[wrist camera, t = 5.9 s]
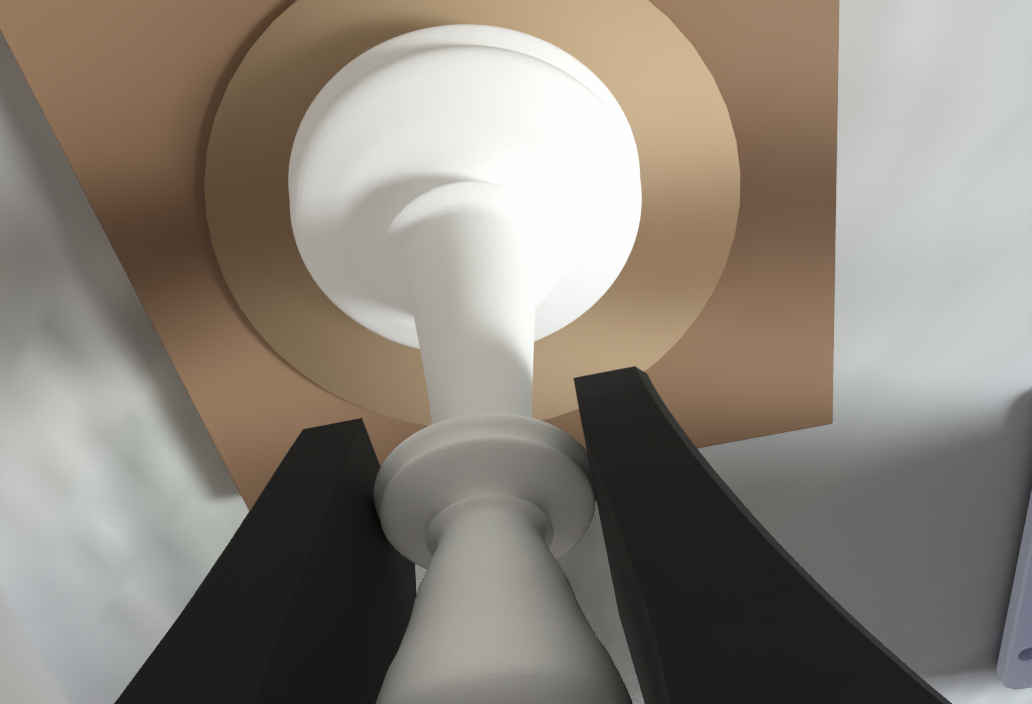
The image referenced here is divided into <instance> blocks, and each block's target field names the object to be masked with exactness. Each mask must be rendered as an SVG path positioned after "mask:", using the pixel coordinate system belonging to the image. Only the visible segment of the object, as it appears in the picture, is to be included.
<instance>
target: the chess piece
mask: <svg viewBox="0 0 1032 704" xmlns="http://www.w3.org/2000/svg"><path fill="white" fill-rule="evenodd" d="M288 188H289V199H290V217H291V224H292V229H293V234H294V237H295V241H296V244H297V247H298V250H299V252H300V255H301V257H302V259H303V261H304V264H305V266H306V267H307V269H308V271H309V273H310V274H311V276H312V277H313V279H314V281H315V282H316V283H317V285H318V286H319V287H320V289H321V290H322V291H323V292H324V293H325V295H326V296H327V297H328V298H329V299H330V300H331V301H332V302H333V303H334V304H335V305H336V306H337V307H338V308H339V309H340V310H342V311H343V312H344V313H345V314H346V315H348V316H349V317H350V318H352V319H353V320H354V321H356V322H357V323H359V324H360V325H362V326H364V327H365V328H367V329H369V330H370V331H372V332H374V333H376V334H378V335H380V336H382V337H384V338H387V339H389V340H391V341H394V342H397V343H400V344H403V345H406V346H409V347H413V348H417V349H420V352H421V357H422V362H423V368H424V374H425V380H426V386H427V391H428V397H429V405H430V414H431V423H432V425H430V426H428V427H426V428H424V429H422V430H420V431H418V432H416V433H414V434H413V435H411V436H410V437H408V438H407V439H405V440H404V441H403V442H402V443H400V444H399V445H398V446H397V447H396V448H395V449H394V450H393V451H392V452H391V453H390V454H389V456H388V457H387V458H386V459H385V461H384V462H383V464H382V466H381V468H380V470H379V472H378V474H377V477H376V481H375V485H374V504H375V508H376V511H377V513H378V516H379V518H380V522H381V526H382V529H383V531H384V533H385V535H386V537H387V539H388V540H389V542H390V543H391V544H392V545H393V547H394V548H395V549H396V550H397V551H398V552H399V553H400V554H401V555H403V556H404V557H406V558H407V559H409V560H410V561H411V562H413V563H415V564H417V565H419V566H421V567H423V568H425V569H427V571H426V574H425V576H424V578H423V580H422V582H421V584H420V587H419V589H418V592H417V595H416V598H415V602H414V606H413V611H412V615H411V618H410V621H409V624H408V627H407V629H406V632H405V635H404V637H403V640H402V642H401V645H400V647H399V650H398V652H397V654H396V656H395V658H394V659H393V661H392V663H391V665H390V667H389V669H388V671H387V673H386V676H385V679H384V682H383V684H382V687H381V690H380V693H379V695H378V698H377V701H376V704H632V700H631V698H630V695H629V693H628V690H627V688H626V686H625V684H624V682H623V680H622V678H621V676H620V674H619V672H618V670H617V668H616V666H615V665H614V663H613V661H612V659H611V657H610V655H609V653H608V652H607V650H606V649H605V647H604V646H603V645H602V643H601V642H600V641H599V639H598V638H597V637H596V635H595V634H594V632H593V630H592V628H591V627H590V625H589V623H588V621H587V619H586V618H585V616H584V614H583V612H582V610H581V608H580V606H579V604H578V602H577V600H576V597H575V595H574V592H573V589H572V587H571V584H570V582H569V580H568V579H567V577H566V575H565V573H564V572H563V570H562V569H561V567H560V566H559V564H558V562H557V561H556V559H557V558H558V557H560V556H561V555H563V554H564V553H566V552H567V551H568V550H569V549H571V548H572V547H573V546H574V545H575V544H576V543H577V542H578V541H579V540H580V539H581V537H582V536H583V535H584V533H585V532H586V530H587V529H588V527H589V525H590V522H591V520H592V517H593V514H594V509H595V501H596V494H595V489H594V484H593V479H592V474H591V469H590V464H589V459H588V454H587V451H586V450H585V448H584V447H583V446H582V445H581V444H580V443H579V442H578V441H577V440H576V439H574V438H573V437H572V436H571V435H569V434H568V433H566V432H565V431H563V430H562V429H560V428H558V427H556V426H553V425H551V424H549V423H547V422H544V421H541V420H538V419H535V418H532V382H533V354H534V341H536V340H539V339H541V338H544V337H546V336H548V335H550V334H552V333H554V332H556V331H558V330H560V329H561V328H563V327H565V326H566V325H568V324H570V323H571V322H573V321H574V320H575V319H577V318H578V317H580V316H581V315H582V314H583V313H585V312H586V311H587V310H588V309H589V308H591V307H592V306H593V305H594V304H595V303H596V302H597V301H598V300H599V299H600V298H601V297H602V296H603V295H604V294H605V292H606V291H607V290H608V289H609V288H610V286H611V285H612V284H613V282H614V281H615V280H616V278H617V277H618V275H619V274H620V272H621V270H622V269H623V267H624V265H625V263H626V261H627V259H628V257H629V255H630V253H631V250H632V248H633V245H634V242H635V239H636V236H637V232H638V228H639V223H640V217H641V205H642V191H641V181H640V165H639V157H638V152H637V147H636V143H635V140H634V136H633V133H632V130H631V128H630V125H629V123H628V121H627V118H626V116H625V114H624V112H623V111H622V109H621V107H620V105H619V104H618V102H617V101H616V99H615V98H614V96H613V95H612V94H611V92H610V91H609V90H608V88H607V87H606V86H605V85H604V84H603V82H602V81H601V80H600V79H599V78H598V77H597V76H596V75H595V74H594V73H593V72H592V71H591V70H589V69H588V68H587V67H586V66H585V65H584V64H582V63H581V62H580V61H578V60H577V59H576V58H574V57H573V56H571V55H570V54H568V53H567V52H565V51H563V50H562V49H560V48H558V47H556V46H554V45H553V44H551V43H548V42H546V41H544V40H542V39H539V38H537V37H534V36H531V35H529V34H525V33H522V32H519V31H515V30H511V29H507V28H502V27H496V26H488V25H476V24H455V25H443V26H436V27H430V28H424V29H420V30H416V31H412V32H409V33H406V34H403V35H400V36H397V37H394V38H392V39H389V40H387V41H385V42H383V43H381V44H379V45H376V46H375V47H373V48H371V49H369V50H368V51H366V52H364V53H363V54H361V55H360V56H358V57H357V58H355V59H354V60H352V61H351V62H350V63H348V64H347V65H346V66H345V67H343V68H342V69H341V70H340V71H339V72H338V73H337V74H336V75H335V76H334V77H333V78H332V79H331V80H330V81H329V82H328V83H327V84H326V85H325V86H324V87H323V88H322V90H321V91H320V92H319V94H318V95H317V96H316V98H315V99H314V101H313V102H312V103H311V105H310V107H309V108H308V110H307V112H306V114H305V116H304V117H303V119H302V122H301V124H300V126H299V128H298V131H297V134H296V137H295V140H294V143H293V147H292V152H291V156H290V163H289V174H288Z"/></svg>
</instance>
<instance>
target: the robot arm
mask: <svg viewBox="0 0 1032 704" xmlns="http://www.w3.org/2000/svg"><path fill="white" fill-rule="evenodd" d="M573 379H574V384H575V390H576V395H577V401H578V406H579V412H580V418H581V423H582V428H583V433H584V438H585V444H586V449H587V454H588V459H589V464H590V469H591V474H592V479H593V484H594V489H595V494H596V499H597V505H598V510H599V515H600V520H601V525H602V530H603V535H604V540H605V545H606V550H607V555H608V561H609V566H610V571H611V576H612V581H613V586H614V591H615V596H616V601H617V606H618V611H619V615H620V619H621V622H622V626H623V629H624V633H625V636H626V640H627V643H628V647H629V650H630V654H631V657H632V661H633V664H634V667H635V671H636V674H637V678H638V681H639V685H640V688H641V692H642V695H643V699H644V702H645V704H952V703H951V702H949V701H948V700H947V699H946V698H945V697H943V696H942V695H941V694H940V693H939V692H937V691H936V690H935V689H934V688H933V687H931V686H930V685H929V684H928V683H927V682H925V681H924V680H923V679H922V678H921V677H919V676H918V675H917V674H916V673H915V672H914V671H912V670H911V669H910V668H909V667H908V666H907V665H906V664H905V663H903V662H902V661H901V660H900V659H899V658H898V657H897V656H896V655H894V654H893V653H892V652H891V651H890V650H889V649H888V648H886V647H885V646H884V645H883V644H882V643H881V642H880V641H879V640H877V639H876V638H875V637H874V636H873V635H872V634H871V633H870V632H868V631H867V630H866V629H865V628H864V627H863V626H862V625H861V624H860V623H859V622H858V621H857V620H856V619H854V618H853V617H852V616H851V615H850V614H849V613H848V612H847V611H846V610H845V609H844V608H843V607H842V606H841V605H840V604H839V603H838V602H837V601H836V600H835V599H833V598H832V597H831V596H830V595H829V594H828V593H827V592H826V591H825V590H824V589H823V588H822V587H821V586H820V585H819V584H818V583H817V582H816V581H815V580H814V579H813V578H812V577H811V576H810V575H809V574H808V573H807V572H806V571H805V570H804V569H803V568H802V567H801V566H800V565H799V564H798V563H797V562H796V561H795V560H794V558H793V557H792V556H791V555H790V554H789V553H788V552H787V551H786V550H785V549H784V548H783V547H782V546H781V545H780V544H779V543H778V542H777V541H776V540H775V539H774V538H773V537H772V535H771V534H770V533H769V532H768V531H767V530H766V529H765V528H764V527H763V526H762V525H761V524H760V523H759V521H758V520H757V519H756V518H755V517H754V516H753V515H752V514H751V512H750V511H749V510H748V509H747V508H746V507H745V505H744V504H743V503H742V502H741V501H740V500H739V498H738V497H737V496H736V495H735V494H734V493H733V492H732V490H731V489H730V488H729V487H728V486H727V485H726V483H725V482H724V481H723V480H722V479H721V478H720V477H719V475H718V474H717V473H716V472H715V471H714V469H713V468H712V467H711V466H710V464H709V463H708V462H707V461H706V459H705V458H704V457H703V456H702V454H701V453H700V452H699V451H698V449H697V448H696V447H695V445H694V444H693V443H692V441H691V440H690V439H689V437H688V436H687V435H686V433H685V432H684V431H683V429H682V428H681V427H680V425H679V424H678V422H677V421H676V420H675V418H674V417H673V415H672V414H671V412H670V411H669V409H668V408H667V406H666V405H665V403H664V402H663V400H662V399H661V397H660V395H659V394H658V392H657V391H656V389H655V387H654V386H653V384H652V382H651V380H650V378H649V376H648V374H647V373H645V372H644V371H642V370H640V369H639V368H637V367H636V366H633V367H628V368H622V369H617V370H612V371H607V372H601V373H596V374H591V375H586V376H580V377H575V378H573ZM380 468H381V467H380V464H379V461H378V459H377V456H376V453H375V451H374V448H373V446H372V443H371V440H370V438H369V435H368V432H367V430H366V427H365V425H364V422H363V419H362V418H359V419H354V420H348V421H343V422H338V423H333V424H327V425H322V426H317V427H311V428H306V429H303V430H302V431H301V433H300V434H299V436H298V437H297V439H296V440H295V442H294V443H293V445H292V446H291V448H290V449H289V451H288V452H287V454H286V455H285V457H284V458H283V460H282V461H281V463H280V464H279V466H278V467H277V469H276V471H275V472H274V474H273V475H272V477H271V478H270V480H269V482H268V483H267V485H266V486H265V488H264V489H263V491H262V493H261V494H260V496H259V497H258V499H257V500H256V502H255V503H254V505H253V507H252V508H251V510H250V511H249V513H248V514H247V516H246V517H245V519H244V520H243V522H242V524H241V525H240V527H239V528H238V530H237V531H236V533H235V534H234V536H233V538H232V539H231V541H230V542H229V544H228V545H227V547H226V548H225V549H224V551H223V552H222V554H221V555H220V557H219V558H218V560H217V561H216V563H215V564H214V566H213V567H212V569H211V570H210V572H209V573H208V575H207V576H206V578H205V579H204V581H203V582H202V584H201V585H200V586H199V588H198V589H197V591H196V592H195V594H194V595H193V597H192V598H191V600H190V601H189V603H188V604H187V606H186V607H185V608H184V610H183V611H182V613H181V614H180V616H179V617H178V618H177V620H176V621H175V623H174V624H173V625H172V627H171V628H170V629H169V631H168V632H167V633H166V635H165V636H164V637H163V639H162V640H161V641H160V643H159V644H158V646H157V647H156V648H155V650H154V651H153V652H152V654H151V655H150V656H149V658H148V659H147V660H146V662H145V663H144V664H143V666H142V667H141V668H140V670H139V671H138V673H137V674H136V675H135V677H134V678H133V679H132V681H131V682H130V683H129V685H128V686H127V687H126V689H125V690H124V691H123V693H122V694H121V695H120V697H119V698H118V699H117V701H116V702H115V703H114V704H376V701H377V698H378V695H379V693H380V690H381V687H382V684H383V682H384V679H385V676H386V673H387V671H388V669H389V667H390V665H391V663H392V661H393V659H394V658H395V656H396V654H397V652H398V650H399V647H400V645H401V642H402V640H403V637H404V635H405V632H406V629H407V627H408V624H409V621H410V618H411V615H412V611H413V606H414V602H415V598H416V577H415V563H413V562H411V561H410V560H409V559H407V558H406V557H404V556H403V555H401V554H400V553H399V552H398V551H397V550H396V549H395V548H394V547H393V545H392V544H391V543H390V542H389V540H388V539H387V537H386V535H385V533H384V531H383V529H382V526H381V522H380V518H379V516H378V513H377V511H376V508H375V504H374V485H375V481H376V477H377V474H378V472H379V470H380ZM996 671H997V675H998V677H999V678H1000V680H1001V682H1002V684H1003V685H1004V686H1006V687H1007V688H1011V689H1024V688H1030V687H1032V491H1031V496H1030V501H1029V506H1028V511H1027V516H1026V521H1025V526H1024V531H1023V536H1022V542H1021V547H1020V552H1019V557H1018V562H1017V567H1016V572H1015V577H1014V582H1013V587H1012V592H1011V597H1010V603H1009V608H1008V613H1007V618H1006V623H1005V628H1004V633H1003V638H1002V643H1001V648H1000V653H999V658H998V664H997V669H996Z"/></svg>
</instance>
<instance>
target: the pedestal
mask: <svg viewBox="0 0 1032 704" xmlns="http://www.w3.org/2000/svg"><path fill="white" fill-rule="evenodd" d="M455 24H476V25H488V26H496V27H502V28H507V29H511V30H515V31H519V32H522V33H525V34H529V35H531V36H534V37H537V38H539V39H542V40H544V41H546V42H548V43H551V44H553V45H554V46H556V47H558V48H560V49H562V50H563V51H565V52H567V53H568V54H570V55H571V56H573V57H574V58H576V59H577V60H578V61H580V62H581V63H582V64H584V65H585V66H586V67H587V68H588V69H589V70H591V71H592V72H593V73H594V74H595V75H596V76H597V77H598V78H599V79H600V80H601V81H602V82H603V84H604V85H605V86H606V87H607V88H608V90H609V91H610V92H611V94H612V95H613V96H614V98H615V99H616V101H617V102H618V104H619V105H620V107H621V109H622V111H623V112H624V114H625V116H626V118H627V121H628V123H629V125H630V128H631V130H632V133H633V136H634V140H635V143H636V147H637V152H638V157H639V165H640V181H641V191H642V205H641V217H640V223H639V228H638V232H637V236H636V239H635V242H634V245H633V248H632V250H631V253H630V255H629V257H628V259H627V261H626V263H625V265H624V267H623V269H622V270H621V272H620V274H619V275H618V277H617V278H616V280H615V281H614V282H613V284H612V285H611V286H610V288H609V289H608V290H607V291H606V292H605V294H604V295H603V296H602V297H601V298H600V299H599V300H598V301H597V302H596V303H595V304H594V305H593V306H592V307H591V308H589V309H588V310H587V311H586V312H585V313H583V314H582V315H581V316H580V317H578V318H577V319H575V320H574V321H573V322H571V323H570V324H568V325H566V326H565V327H563V328H561V329H560V330H558V331H556V332H554V333H552V334H550V335H548V336H546V337H544V338H541V339H539V340H536V341H534V354H533V382H532V418H535V419H538V420H541V421H544V422H547V423H549V424H551V425H553V426H556V427H558V428H560V429H562V430H563V431H565V432H566V433H568V434H569V435H571V436H572V437H573V438H574V439H576V440H577V441H578V442H579V443H580V444H581V445H582V446H583V447H584V448H585V450H586V451H587V449H586V444H585V438H584V433H583V428H582V423H581V418H580V412H579V406H578V401H577V395H576V390H575V384H574V379H573V378H575V377H580V376H586V375H591V374H596V373H601V372H607V371H612V370H617V369H622V368H628V367H633V366H636V367H637V368H639V369H640V370H642V371H644V372H645V373H647V374H648V376H649V378H650V380H651V382H652V384H653V386H654V387H655V389H656V391H657V392H658V394H659V395H660V397H661V399H662V400H663V402H664V403H665V405H666V406H667V408H668V409H669V411H670V412H671V414H672V415H673V417H674V418H675V420H676V421H677V422H678V424H679V425H680V427H681V428H682V429H683V431H684V432H685V433H686V435H687V436H688V437H689V439H690V440H691V441H692V443H693V444H694V445H695V447H696V448H701V447H707V446H712V445H718V444H723V443H729V442H734V441H740V440H745V439H751V438H756V437H762V436H767V435H773V434H778V433H784V432H789V431H794V430H800V429H805V428H811V427H816V426H822V425H827V424H832V412H833V351H834V290H835V229H836V168H837V106H838V45H839V0H0V30H1V32H2V34H3V36H4V38H5V40H6V41H7V43H8V45H9V47H10V49H11V51H12V53H13V55H14V57H15V59H16V61H17V63H18V65H19V67H20V69H21V70H22V72H23V74H24V76H25V78H26V80H27V82H28V84H29V86H30V88H31V90H32V92H33V94H34V96H35V98H36V99H37V101H38V103H39V105H40V107H41V109H42V111H43V113H44V115H45V117H46V119H47V121H48V123H49V125H50V127H51V128H52V130H53V132H54V134H55V136H56V138H57V140H58V142H59V144H60V146H61V148H62V150H63V152H64V154H65V156H66V157H67V159H68V161H69V163H70V165H71V167H72V169H73V171H74V173H75V175H76V177H77V179H78V181H79V183H80V185H81V186H82V188H83V190H84V192H85V194H86V196H87V198H88V200H89V202H90V204H91V206H92V208H93V210H94V212H95V214H96V215H97V217H98V219H99V221H100V223H101V225H102V227H103V229H104V231H105V233H106V235H107V237H108V239H109V241H110V243H111V244H112V246H113V248H114V250H115V252H116V254H117V256H118V258H119V260H120V262H121V264H122V266H123V268H124V270H125V272H126V273H127V275H128V277H129V279H130V281H131V283H132V285H133V287H134V289H135V291H136V293H137V295H138V297H139V299H140V301H141V303H142V304H143V306H144V308H145V310H146V312H147V314H148V316H149V318H150V320H151V322H152V324H153V326H154V328H155V330H156V332H157V333H158V335H159V337H160V339H161V341H162V343H163V345H164V347H165V349H166V351H167V353H168V355H169V357H170V359H171V361H172V362H173V364H174V366H175V368H176V370H177V372H178V374H179V376H180V378H181V380H182V382H183V384H184V386H185V388H186V390H187V391H188V393H189V395H190V397H191V399H192V401H193V403H194V405H195V407H196V409H197V411H198V413H199V415H200V417H201V419H202V420H203V422H204V424H205V426H206V428H207V430H208V432H209V434H210V436H211V438H212V440H213V442H214V444H215V446H216V448H217V449H218V451H219V453H220V455H221V457H222V459H223V461H224V463H225V465H226V467H227V469H228V471H229V473H230V475H231V477H232V478H233V480H234V482H235V484H236V486H237V488H238V490H239V492H240V494H241V496H242V498H243V500H244V502H245V504H246V506H247V507H248V509H249V511H250V510H251V508H252V507H253V505H254V503H255V502H256V500H257V499H258V497H259V496H260V494H261V493H262V491H263V489H264V488H265V486H266V485H267V483H268V482H269V480H270V478H271V477H272V475H273V474H274V472H275V471H276V469H277V467H278V466H279V464H280V463H281V461H282V460H283V458H284V457H285V455H286V454H287V452H288V451H289V449H290V448H291V446H292V445H293V443H294V442H295V440H296V439H297V437H298V436H299V434H300V433H301V431H302V430H303V429H306V428H311V427H317V426H322V425H327V424H333V423H338V422H343V421H348V420H354V419H359V418H362V419H363V422H364V425H365V427H366V430H367V432H368V435H369V438H370V440H371V443H372V446H373V448H374V451H375V453H376V456H377V459H378V461H379V464H380V467H381V466H382V464H383V462H384V461H385V459H386V458H387V457H388V456H389V454H390V453H391V452H392V451H393V450H394V449H395V448H396V447H397V446H398V445H399V444H400V443H402V442H403V441H404V440H405V439H407V438H408V437H410V436H411V435H413V434H414V433H416V432H418V431H420V430H422V429H424V428H426V427H428V426H430V425H432V423H431V414H430V405H429V397H428V391H427V386H426V380H425V374H424V368H423V362H422V357H421V352H420V349H417V348H413V347H409V346H406V345H403V344H400V343H397V342H394V341H391V340H389V339H387V338H384V337H382V336H380V335H378V334H376V333H374V332H372V331H370V330H369V329H367V328H365V327H364V326H362V325H360V324H359V323H357V322H356V321H354V320H353V319H352V318H350V317H349V316H348V315H346V314H345V313H344V312H343V311H342V310H340V309H339V308H338V307H337V306H336V305H335V304H334V303H333V302H332V301H331V300H330V299H329V298H328V297H327V296H326V295H325V293H324V292H323V291H322V290H321V289H320V287H319V286H318V285H317V283H316V282H315V281H314V279H313V277H312V276H311V274H310V273H309V271H308V269H307V267H306V266H305V264H304V261H303V259H302V257H301V255H300V252H299V250H298V247H297V244H296V241H295V237H294V234H293V229H292V224H291V217H290V199H289V188H288V174H289V163H290V156H291V152H292V147H293V143H294V140H295V137H296V134H297V131H298V128H299V126H300V124H301V122H302V119H303V117H304V116H305V114H306V112H307V110H308V108H309V107H310V105H311V103H312V102H313V101H314V99H315V98H316V96H317V95H318V94H319V92H320V91H321V90H322V88H323V87H324V86H325V85H326V84H327V83H328V82H329V81H330V80H331V79H332V78H333V77H334V76H335V75H336V74H337V73H338V72H339V71H340V70H341V69H342V68H343V67H345V66H346V65H347V64H348V63H350V62H351V61H352V60H354V59H355V58H357V57H358V56H360V55H361V54H363V53H364V52H366V51H368V50H369V49H371V48H373V47H375V46H376V45H379V44H381V43H383V42H385V41H387V40H389V39H392V38H394V37H397V36H400V35H403V34H406V33H409V32H412V31H416V30H420V29H424V28H430V27H436V26H443V25H455Z"/></svg>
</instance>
